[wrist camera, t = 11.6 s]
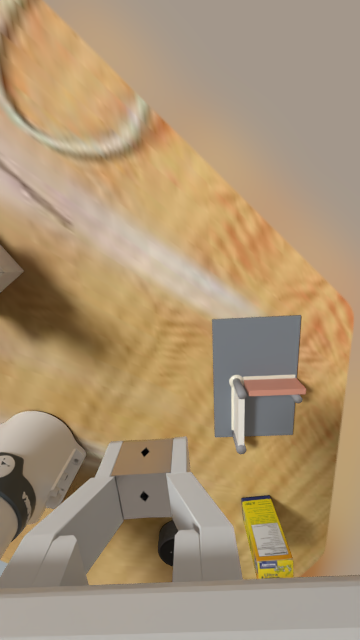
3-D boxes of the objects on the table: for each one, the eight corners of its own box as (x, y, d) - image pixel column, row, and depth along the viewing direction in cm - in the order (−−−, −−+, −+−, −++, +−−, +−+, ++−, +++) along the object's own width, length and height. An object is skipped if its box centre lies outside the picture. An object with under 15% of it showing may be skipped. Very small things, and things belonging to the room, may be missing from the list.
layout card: (291, 433, 45) (292, 435, 45) (214, 436, 46) (215, 437, 45) (300, 315, 39) (301, 315, 39) (212, 319, 40) (212, 319, 40)
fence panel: (243, 385, 42) (249, 396, 38) (243, 380, 42) (249, 390, 38) (295, 383, 42) (305, 394, 38) (296, 378, 41) (306, 388, 38)
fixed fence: (287, 433, 45) (298, 453, 40) (231, 435, 45) (237, 455, 41) (290, 374, 42) (303, 389, 37) (231, 377, 42) (237, 391, 38)
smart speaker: (165, 512, 51) (163, 533, 47) (205, 522, 51) (207, 543, 47) (155, 542, 53) (152, 564, 49) (193, 551, 53) (194, 574, 49)
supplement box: (243, 519, 50) (258, 588, 40) (240, 497, 49) (256, 562, 38) (271, 516, 50) (294, 585, 40) (270, 494, 49) (293, 559, 38)
